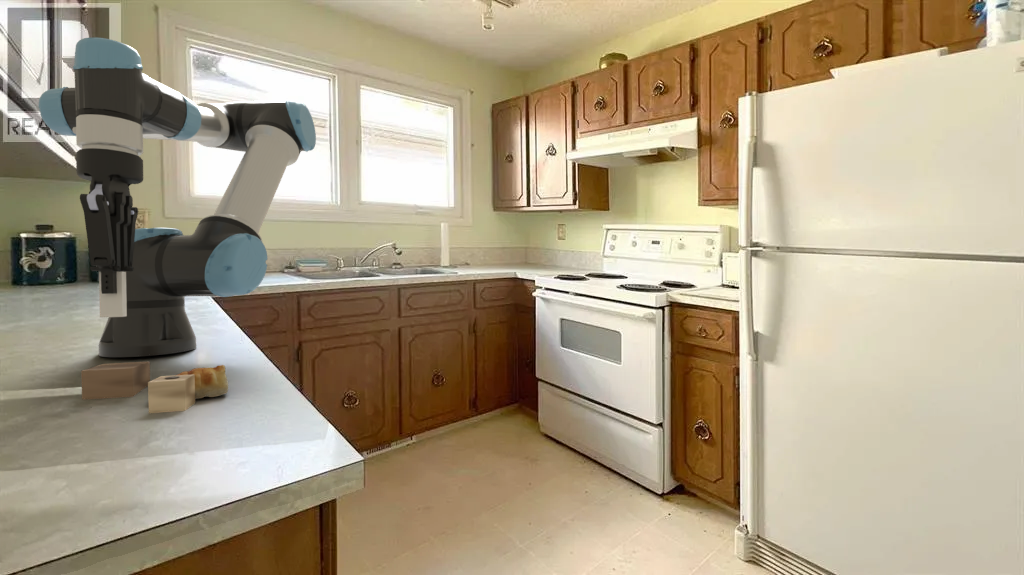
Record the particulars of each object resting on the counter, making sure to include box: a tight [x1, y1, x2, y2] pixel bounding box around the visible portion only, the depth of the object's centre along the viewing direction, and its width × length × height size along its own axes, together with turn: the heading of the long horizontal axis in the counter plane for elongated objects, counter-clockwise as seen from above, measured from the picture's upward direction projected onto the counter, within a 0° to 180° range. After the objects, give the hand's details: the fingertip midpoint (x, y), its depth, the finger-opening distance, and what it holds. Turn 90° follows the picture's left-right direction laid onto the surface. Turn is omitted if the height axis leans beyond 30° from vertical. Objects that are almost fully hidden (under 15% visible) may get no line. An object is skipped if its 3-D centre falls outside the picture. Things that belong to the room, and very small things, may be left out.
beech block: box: [147, 374, 196, 414], centre depth 65 cm, size 4×4×4 cm
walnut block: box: [80, 360, 151, 400], centre depth 73 cm, size 6×6×4 cm
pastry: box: [176, 364, 229, 400], centre depth 71 cm, size 9×7×4 cm
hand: (113, 316), depth 72 cm, fingers closed
